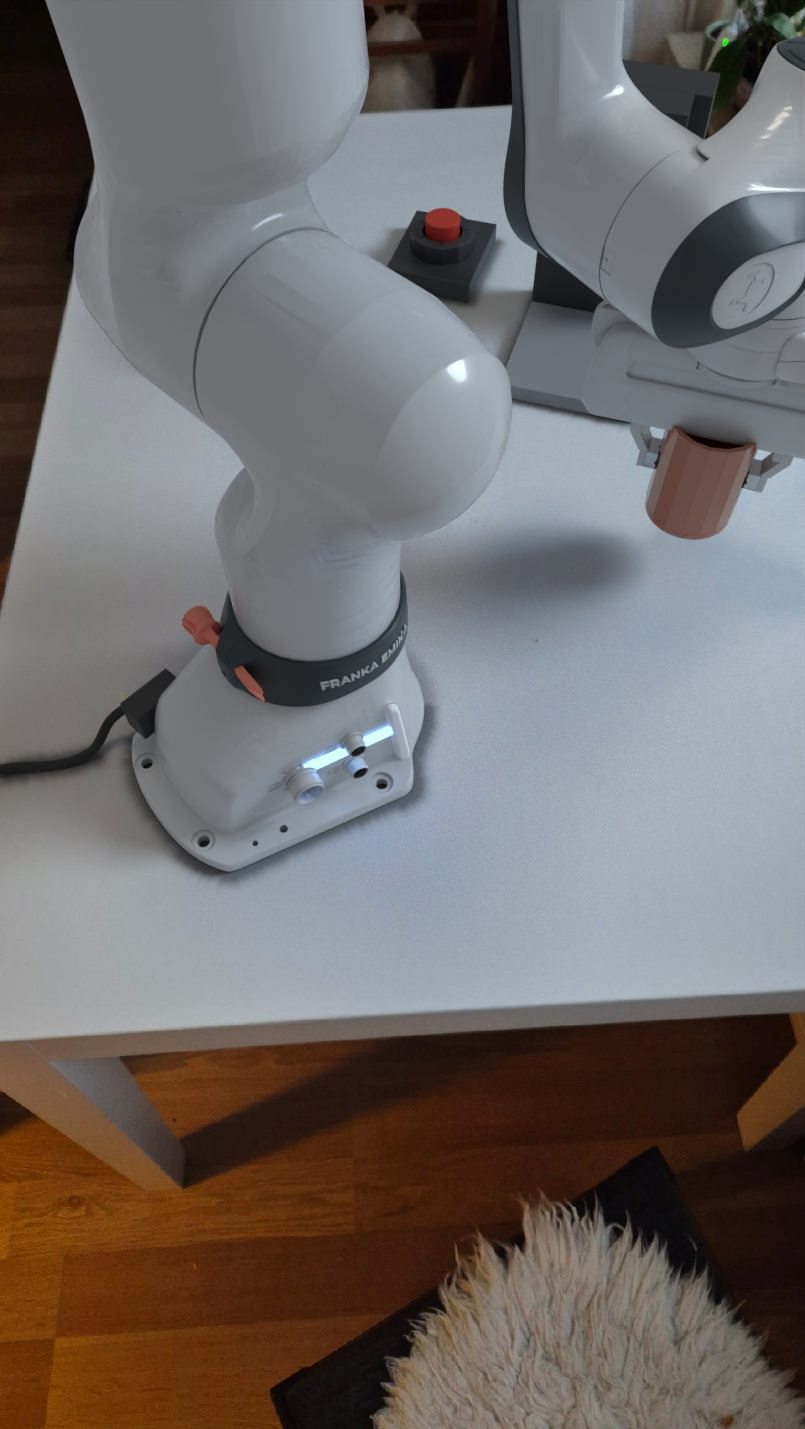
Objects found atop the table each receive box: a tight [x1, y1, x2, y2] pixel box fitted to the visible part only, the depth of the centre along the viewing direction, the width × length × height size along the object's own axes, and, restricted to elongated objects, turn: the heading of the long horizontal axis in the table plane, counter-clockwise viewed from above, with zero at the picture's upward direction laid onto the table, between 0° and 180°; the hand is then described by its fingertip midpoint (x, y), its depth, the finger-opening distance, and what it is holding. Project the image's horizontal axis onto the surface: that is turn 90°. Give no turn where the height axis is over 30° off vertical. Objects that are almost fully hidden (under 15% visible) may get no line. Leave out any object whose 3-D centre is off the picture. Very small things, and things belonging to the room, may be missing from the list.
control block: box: [386, 210, 498, 304], centre depth 106 cm, size 11×9×4 cm
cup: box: [644, 425, 759, 541], centre depth 77 cm, size 7×7×9 cm
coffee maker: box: [504, 58, 721, 424], centre depth 90 cm, size 17×13×23 cm
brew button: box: [425, 207, 460, 242], centre depth 104 cm, size 4×4×2 cm
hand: (699, 473), depth 78 cm, fingers closed on cup, 7 cm apart
